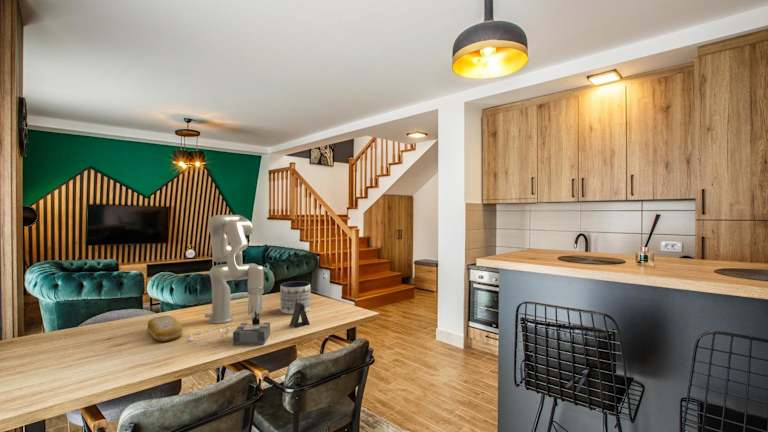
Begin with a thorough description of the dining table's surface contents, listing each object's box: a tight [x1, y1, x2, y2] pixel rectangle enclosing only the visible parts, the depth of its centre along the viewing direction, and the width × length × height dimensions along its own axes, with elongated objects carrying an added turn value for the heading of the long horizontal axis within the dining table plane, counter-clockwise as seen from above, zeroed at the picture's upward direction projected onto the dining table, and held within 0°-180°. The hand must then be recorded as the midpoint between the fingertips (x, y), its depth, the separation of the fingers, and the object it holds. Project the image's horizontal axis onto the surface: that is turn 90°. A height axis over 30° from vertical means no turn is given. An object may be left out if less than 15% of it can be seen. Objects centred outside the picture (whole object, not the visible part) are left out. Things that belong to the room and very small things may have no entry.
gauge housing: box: [232, 322, 271, 347], centre depth 178 cm, size 14×14×6 cm
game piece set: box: [187, 325, 231, 345], centre depth 181 cm, size 19×20×4 cm
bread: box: [146, 315, 184, 343], centre depth 184 cm, size 13×26×8 cm, turn 47°
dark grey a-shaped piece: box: [289, 302, 310, 328], centre depth 201 cm, size 9×6×12 cm, turn 126°
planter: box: [279, 280, 311, 315], centre depth 229 cm, size 18×18×16 cm
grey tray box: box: [236, 322, 267, 331], centre depth 178 cm, size 14×9×5 cm, turn 96°
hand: (255, 326), depth 184 cm, fingers closed
